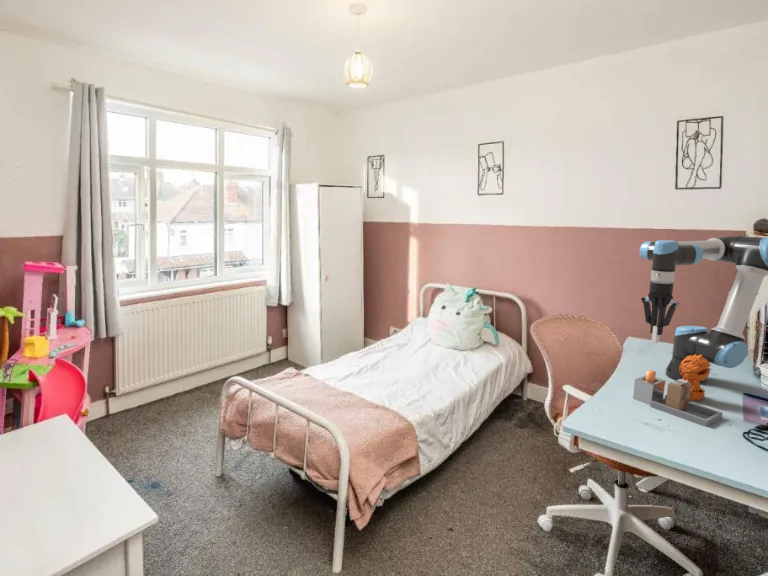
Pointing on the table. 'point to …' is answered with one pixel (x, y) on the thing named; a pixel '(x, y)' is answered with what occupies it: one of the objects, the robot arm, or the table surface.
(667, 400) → the carriage
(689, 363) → the orange figurine
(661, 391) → the grey block with hole
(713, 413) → the guide channel
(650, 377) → the orange rounded peg
